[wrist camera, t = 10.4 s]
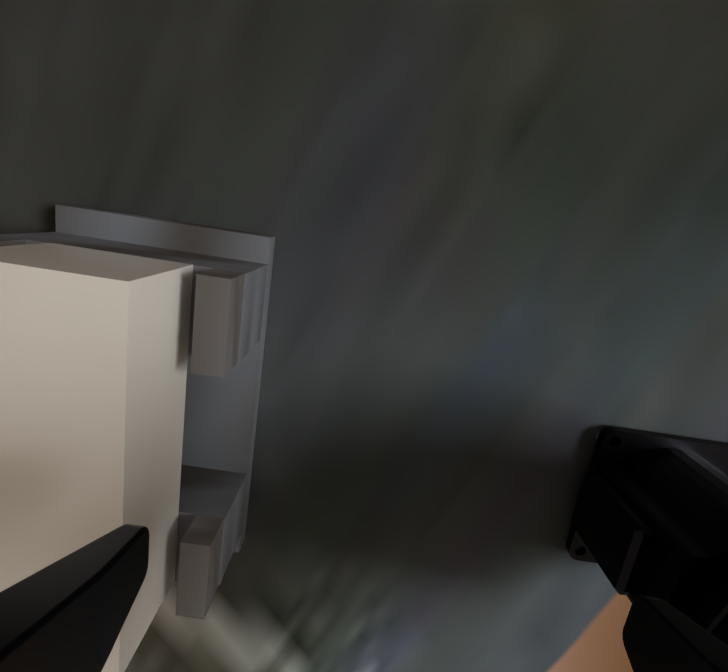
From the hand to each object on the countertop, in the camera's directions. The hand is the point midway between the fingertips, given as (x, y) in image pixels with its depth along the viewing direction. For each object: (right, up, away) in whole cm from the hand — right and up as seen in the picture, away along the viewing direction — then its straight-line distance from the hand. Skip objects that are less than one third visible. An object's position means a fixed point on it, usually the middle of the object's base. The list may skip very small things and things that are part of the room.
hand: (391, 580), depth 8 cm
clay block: (-9, +1, +8) cm, 12 cm away
